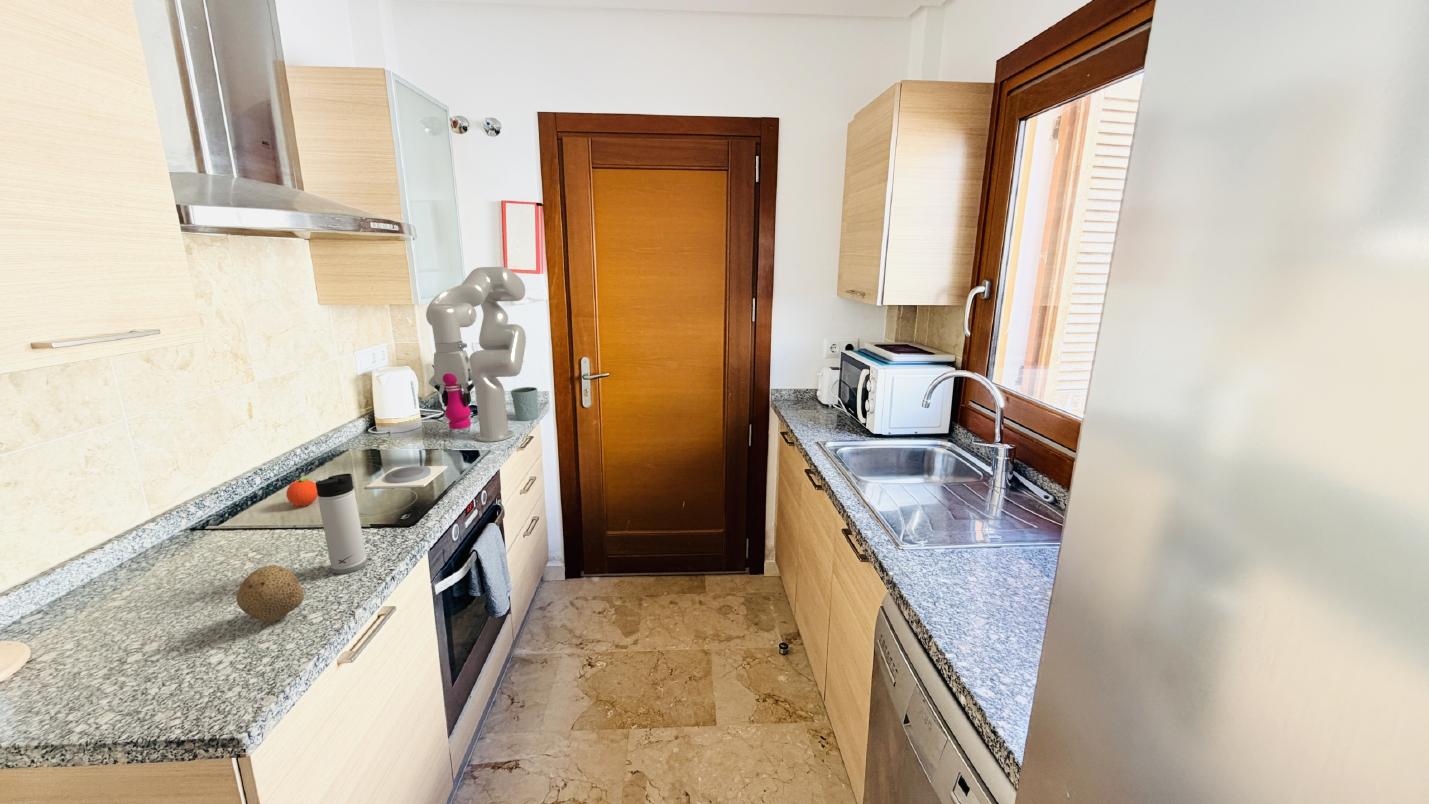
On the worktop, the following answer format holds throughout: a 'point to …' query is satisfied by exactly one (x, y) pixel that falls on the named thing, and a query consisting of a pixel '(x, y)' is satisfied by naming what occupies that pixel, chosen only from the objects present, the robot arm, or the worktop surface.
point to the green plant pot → (525, 403)
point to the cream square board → (407, 477)
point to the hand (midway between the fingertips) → (457, 404)
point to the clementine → (302, 492)
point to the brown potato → (270, 593)
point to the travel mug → (341, 523)
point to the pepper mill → (456, 404)
